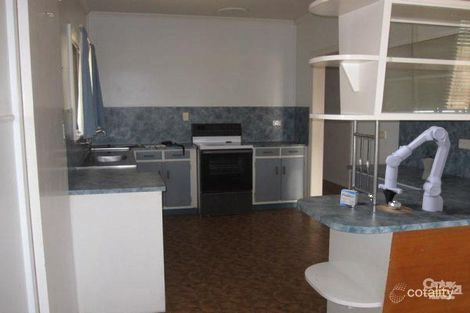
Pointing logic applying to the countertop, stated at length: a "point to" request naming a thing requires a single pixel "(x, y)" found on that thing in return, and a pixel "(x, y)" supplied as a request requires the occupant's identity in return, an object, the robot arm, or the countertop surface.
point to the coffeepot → (427, 167)
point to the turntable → (403, 210)
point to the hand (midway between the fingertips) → (388, 204)
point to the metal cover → (394, 205)
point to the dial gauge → (371, 199)
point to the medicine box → (348, 198)
